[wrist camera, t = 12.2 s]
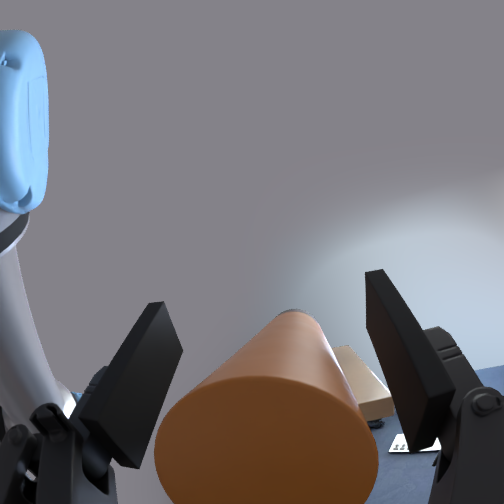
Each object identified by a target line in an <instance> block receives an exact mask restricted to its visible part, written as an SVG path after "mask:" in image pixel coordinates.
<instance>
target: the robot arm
mask: <svg viewBox="0 0 504 504" xmlns="http://www.w3.org/2000/svg"><path fill="white" fill-rule="evenodd" d="M48 111H49V105H48V86H47V75H46V67H45V62H44V56H43V53H42V50H41V47H40V45H39V43H38V42H37V40H36V39H35V38H34V37H33V36H32V35H30V34H29V33H27V32H24V31H21V30H0V504H118V502H117V493H116V485H115V484H116V483H115V473H114V470H113V468H112V467H111V466H110V465H109V464H110V462H111V459H112V457H113V458H114V460H116V461H117V463H119V465H120V466H124V467H129V468H135V469H140V466H141V463H142V460H143V457H144V455H145V451H146V449H147V446H148V443H149V440H150V438H151V435H152V432H153V429H154V427H155V424H156V421H157V419H158V416H159V413H160V411H161V408H162V405H163V402H164V400H165V397H166V394H167V392H168V389H169V386H170V384H171V381H172V379H173V376H174V373H175V371H176V368H177V365H178V363H179V360H180V358H181V355H182V352H183V349H182V346H181V344H180V341H179V339H178V337H177V334H176V331H175V329H174V326H173V324H172V322H171V319H170V316H169V314H168V311H167V308H166V306H165V303H164V301H163V302H154V303H149V304H148V305H147V307H146V308H145V309H144V311H143V313H142V314H141V316H140V317H139V319H138V320H137V322H136V323H135V325H134V326H133V328H132V329H131V331H130V333H129V334H128V336H127V337H126V339H125V340H124V342H123V343H122V345H121V347H120V348H119V350H118V352H117V353H116V355H115V356H114V358H113V360H112V361H111V363H110V364H109V366H104V367H103V368H102V369H101V370H99V371H98V372H97V373H96V374H95V375H94V377H93V378H92V380H91V381H90V383H89V386H88V387H87V388H86V390H85V391H84V394H81V393H75V392H70V391H69V390H68V389H67V388H66V387H65V386H64V385H63V384H62V383H61V382H59V381H58V380H56V379H54V377H53V375H52V372H51V370H50V367H49V365H48V362H47V360H46V357H45V355H44V351H43V349H42V346H41V343H40V340H39V337H38V334H37V331H36V328H35V325H34V321H33V318H32V315H31V311H30V307H29V304H28V300H27V296H26V292H25V288H24V284H23V280H22V275H21V270H20V266H19V260H18V255H17V250H16V244H17V243H18V241H19V240H20V239H21V238H22V236H23V235H24V233H25V231H26V229H27V227H28V224H29V211H30V210H31V209H34V208H36V207H37V206H38V205H39V204H40V203H41V202H42V199H43V197H44V194H45V190H46V183H47V175H48V153H47V152H48V151H47V149H48V146H49V112H48ZM365 283H366V329H367V331H368V333H369V336H370V339H371V341H372V344H373V346H374V349H375V352H376V354H377V357H378V360H379V363H380V365H381V368H382V371H383V374H384V376H385V379H386V382H387V385H388V388H389V390H390V394H391V396H392V399H393V402H394V405H395V408H396V411H397V414H398V418H399V421H400V424H401V427H402V430H403V433H404V437H405V440H406V443H407V447H408V450H409V454H411V453H414V452H418V451H421V450H424V449H427V448H430V447H433V445H434V443H435V441H436V439H437V438H438V440H439V443H440V446H441V449H440V451H439V453H438V454H437V456H436V458H435V460H434V462H433V465H432V466H436V470H435V475H434V480H433V485H432V489H431V494H430V498H429V502H428V504H504V396H502V395H501V394H500V393H499V391H497V390H495V389H493V388H491V387H484V386H483V384H482V383H481V381H480V380H479V378H478V376H477V375H476V373H475V371H474V370H473V368H472V367H471V365H470V364H469V362H468V360H467V359H466V357H465V356H464V355H463V354H462V352H461V350H460V348H459V347H458V346H457V344H456V342H455V341H454V339H453V338H452V336H451V335H450V334H449V333H448V332H446V331H445V330H443V329H442V328H440V327H439V326H438V327H434V328H430V329H426V330H422V328H421V326H420V325H419V323H418V322H417V320H416V318H415V317H414V315H413V314H412V312H411V310H410V309H409V307H408V306H407V304H406V303H405V301H404V300H403V298H402V297H401V295H400V294H399V292H398V291H397V289H396V288H395V286H394V285H393V283H392V282H391V280H390V279H389V277H388V276H387V274H386V273H385V271H384V270H383V269H380V270H375V271H369V272H365ZM436 464H437V465H436ZM27 469H28V470H29V471H30V472H31V473H32V474H33V475H34V476H36V478H35V480H34V481H32V479H31V478H30V477H29V476H28V474H27V473H26V472H27Z"/></svg>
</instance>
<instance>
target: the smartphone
mask: <svg viewBox="0 0 504 504" xmlns="http://www.w3.org/2000/svg"><path fill="white" fill-rule="evenodd" d="M440 449H441V446H440V443H439V440H438V438H437V439H436V441H435V443H434V445H433V447H430V448H427V449H424V450H421V451H418V452H430V451H440ZM389 453H409V450H408V447H407V443H406V440H405V437H404V434H397V436H396V438H395V440H394V442H393V444H392V446H391V448H390V450H389Z"/></svg>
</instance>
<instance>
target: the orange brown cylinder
mask: <svg viewBox="0 0 504 504" xmlns="http://www.w3.org/2000/svg"><path fill="white" fill-rule="evenodd" d="M154 459H155V466H156V471H157V474H158V477H159V480H160V482H161V484H162V486H163V488H164V490H165V492H166V493H167V495H168V496H169V498H170V499H171V500H172V502H173V503H174V504H364V503H365V501H366V500H367V499H368V497H369V495H370V493H371V491H372V489H373V487H374V484H375V481H376V478H377V473H378V465H379V462H378V450H377V446H376V442H375V439H374V437H373V435H372V432H371V430H370V428H369V426H368V424H367V422H366V420H365V417H364V415H363V413H362V411H361V409H360V407H359V405H358V403H357V401H356V399H355V397H354V395H353V392H352V390H351V388H350V386H349V384H348V382H347V380H346V378H345V376H344V374H343V372H342V370H341V368H340V366H339V364H338V362H337V360H336V358H335V356H334V354H333V352H332V350H331V348H330V346H329V344H328V342H327V340H326V338H325V336H324V334H323V332H322V330H321V328H320V326H319V324H318V322H317V320H316V319H315V318H314V317H313V316H312V315H311V314H310V313H308V312H306V311H304V310H300V309H291V310H286V311H284V312H282V313H280V314H279V315H278V316H276V317H275V318H274V319H273V320H272V321H271V322H270V323H269V324H268V325H267V326H266V327H264V328H263V329H262V330H261V331H260V332H259V333H258V334H257V335H256V336H254V337H253V338H252V339H251V340H250V341H249V342H248V343H246V344H245V345H244V346H243V347H242V348H241V349H240V350H239V351H238V352H236V353H235V354H234V355H233V356H232V357H231V358H229V359H228V360H227V361H226V362H225V363H224V364H222V365H221V366H220V367H219V368H218V369H217V370H215V371H214V372H213V373H212V374H211V375H210V376H208V377H207V378H206V379H205V380H204V381H202V382H201V383H200V384H199V385H197V386H196V387H195V388H194V389H193V390H191V391H190V392H189V393H188V394H187V395H185V396H184V397H183V398H182V399H180V400H179V401H178V402H177V403H176V404H175V405H174V406H173V407H172V408H171V409H170V411H169V412H168V413H167V415H166V416H165V417H164V419H163V421H162V423H161V425H160V427H159V429H158V433H157V436H156V440H155V448H154Z"/></svg>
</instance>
